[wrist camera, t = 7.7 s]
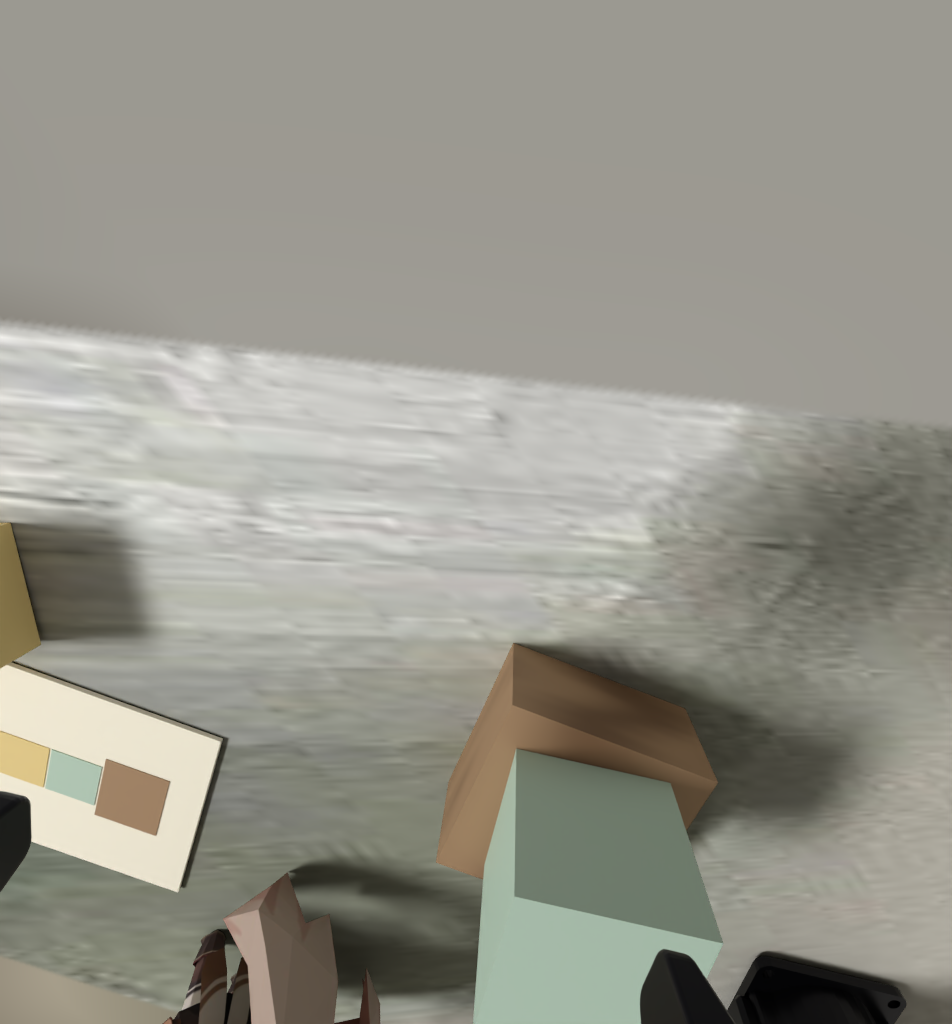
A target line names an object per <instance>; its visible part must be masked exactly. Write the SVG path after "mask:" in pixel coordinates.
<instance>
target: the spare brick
mask: <svg viewBox="0 0 952 1024" xmlns="http://www.w3.org/2000/svg"><path fill="white" fill-rule="evenodd" d="M39 645H41V642H40V638H39V634H38V630H37V626H36V622H35V618H34V614H33V610H32V606H31V603H30V599H29V595H28V591H27V587H26V583H25V579H24V575H23V571H22V567H21V563H20V559H19V555H18V551H17V547H16V543H15V539H14V535H13V531H12V527H11V523H0V668H2V667H4V666H6V665H7V664H9V663H11V662H12V661H14V660H16V659H17V658H19V657H21V656H22V655H24V654H26V653H28V652H29V651H31V650H33V649H34V648H36V647H38V646H39Z"/></svg>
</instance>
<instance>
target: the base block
mask: <svg viewBox="0 0 952 1024" xmlns="http://www.w3.org/2000/svg"><path fill="white" fill-rule="evenodd" d="M516 749H520V750H525V751H529V752H534V753H538V754H543V755H547V756H552V757H556V758H561V759H565V760H570V761H574V762H578V763H583V764H587V765H592V766H596V767H601V768H605V769H610V770H614V771H619V772H623V773H628V774H632V775H637V776H641V777H646V778H650V779H655V780H659V781H664V782H668V783H671V786H672V789H673V792H674V795H675V798H676V801H677V804H678V807H679V810H680V813H681V816H682V820H683V823H684V826H685V829H686V831H687V829H688V828H689V826H690V824H691V823H692V821H693V820H694V818H695V817H696V815H697V814H698V812H699V811H700V809H701V808H702V806H703V805H704V803H705V802H706V800H707V799H708V797H709V796H710V794H711V793H712V791H713V790H714V788H715V787H716V785H717V783H718V781H717V779H716V777H715V774H714V772H713V770H712V768H711V765H710V763H709V761H708V759H707V756H706V754H705V752H704V750H703V747H702V745H701V743H700V741H699V738H698V736H697V734H696V732H695V729H694V727H693V725H692V723H691V720H690V718H689V716H688V714H687V711H686V709H685V708H682V707H680V706H677V705H675V704H672V703H669V702H667V701H664V700H661V699H659V698H656V697H654V696H651V695H648V694H646V693H643V692H641V691H638V690H635V689H633V688H630V687H628V686H625V685H622V684H620V683H617V682H614V681H612V680H609V679H607V678H604V677H601V676H599V675H596V674H594V673H591V672H588V671H586V670H583V669H580V668H578V667H575V666H573V665H570V664H567V663H565V662H562V661H560V660H557V659H554V658H552V657H549V656H546V655H544V654H541V653H539V652H536V651H533V650H531V649H528V648H526V647H523V646H520V645H518V644H515V643H513V645H512V647H511V649H510V651H509V653H508V656H507V658H506V660H505V662H504V664H503V666H502V669H501V671H500V673H499V675H498V677H497V679H496V681H495V684H494V686H493V688H492V690H491V692H490V694H489V696H488V699H487V701H486V703H485V705H484V707H483V709H482V711H481V714H480V716H479V718H478V720H477V722H476V724H475V726H474V729H473V731H472V733H471V735H470V737H469V739H468V741H467V744H466V746H465V748H464V750H463V752H462V754H461V756H460V759H459V761H458V763H457V765H456V767H455V769H454V771H453V774H452V776H451V778H450V780H449V783H448V789H447V796H446V802H445V808H444V815H443V821H442V827H441V834H440V840H439V846H438V853H437V859H436V863H439V864H442V865H444V866H447V867H450V868H453V869H455V870H458V871H461V872H464V873H466V874H469V875H472V876H475V877H478V878H480V879H483V877H484V864H485V861H486V857H487V853H488V850H489V846H490V842H491V839H492V835H493V832H494V828H495V824H496V821H497V817H498V813H499V810H500V806H501V802H502V799H503V795H504V792H505V788H506V784H507V781H508V777H509V773H510V770H511V766H512V763H513V759H514V755H515V752H516Z"/></svg>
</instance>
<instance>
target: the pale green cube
mask: <svg viewBox="0 0 952 1024" xmlns="http://www.w3.org/2000/svg"><path fill="white" fill-rule="evenodd" d="M722 945H723V941H722V938H721V935H720V932H719V929H718V926H717V923H716V920H715V917H714V914H713V911H712V908H711V905H710V902H709V899H708V896H707V893H706V890H705V886H704V883H703V880H702V877H701V874H700V871H699V868H698V865H697V862H696V859H695V856H694V853H693V850H692V847H691V844H690V841H689V838H688V835H687V832H686V829H685V826H684V823H683V820H682V816H681V813H680V810H679V807H678V804H677V801H676V798H675V795H674V792H673V789H672V786H671V783H668V782H664V781H659V780H655V779H650V778H646V777H641V776H637V775H632V774H628V773H623V772H619V771H614V770H610V769H605V768H601V767H596V766H592V765H587V764H583V763H578V762H574V761H570V760H565V759H561V758H556V757H552V756H547V755H543V754H538V753H534V752H529V751H525V750H520V749H516V752H515V755H514V759H513V763H512V766H511V770H510V773H509V777H508V781H507V784H506V788H505V792H504V795H503V799H502V802H501V806H500V810H499V813H498V817H497V821H496V824H495V828H494V832H493V835H492V839H491V842H490V846H489V850H488V853H487V857H486V861H485V864H484V877H483V891H482V905H481V919H480V933H479V947H478V961H477V976H476V990H475V1004H474V1018H473V1024H641V1018H640V994H641V989H642V986H643V983H644V981H645V979H646V977H647V975H648V972H649V970H650V968H651V966H652V964H653V961H654V959H655V957H656V955H657V953H658V952H659V951H660V950H662V949H667V950H672V951H676V952H680V953H684V954H687V955H689V956H690V957H691V958H692V959H693V960H694V961H695V962H696V964H697V965H698V967H699V968H700V970H701V971H702V973H703V975H704V976H705V978H706V979H707V977H708V974H709V972H710V970H711V968H712V966H713V964H714V962H715V960H716V958H717V956H718V954H719V952H720V949H721V947H722Z"/></svg>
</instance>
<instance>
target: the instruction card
mask: <svg viewBox="0 0 952 1024" xmlns="http://www.w3.org/2000/svg"><path fill="white" fill-rule="evenodd" d="M222 741H223V738H220V737H217V736H215V735H212V734H209V733H206V732H203V731H201V730H198V729H195V728H192V727H190V726H187V725H184V724H181V723H178V722H176V721H173V720H170V719H167V718H165V717H162V716H159V715H156V714H153V713H151V712H148V711H145V710H142V709H140V708H137V707H134V706H131V705H128V704H126V703H123V702H120V701H117V700H115V699H112V698H109V697H106V696H103V695H101V694H98V693H95V692H92V691H90V690H87V689H84V688H81V687H78V686H76V685H73V684H70V683H67V682H65V681H62V680H59V679H56V678H53V677H51V676H48V675H45V674H42V673H40V672H37V671H34V670H31V669H28V668H26V667H23V666H20V665H17V664H15V663H12V662H11V663H9V664H7V665H6V666H4V667H2V668H0V791H6V792H10V793H14V794H18V795H22V796H26V797H27V798H28V799H29V800H30V803H31V834H32V838H31V841H32V842H34V843H37V844H40V845H43V846H46V847H49V848H52V849H55V850H57V851H60V852H63V853H66V854H69V855H72V856H75V857H78V858H80V859H83V860H86V861H89V862H92V863H95V864H98V865H101V866H103V867H106V868H109V869H112V870H115V871H118V872H121V873H124V874H126V875H129V876H132V877H135V878H138V879H141V880H144V881H147V882H149V883H152V884H155V885H158V886H161V887H164V888H167V889H170V890H172V891H175V892H178V891H179V890H180V888H181V885H182V881H183V878H184V874H185V871H186V867H187V864H188V860H189V857H190V853H191V850H192V846H193V843H194V839H195V836H196V832H197V829H198V825H199V822H200V818H201V815H202V811H203V808H204V804H205V801H206V797H207V794H208V790H209V787H210V783H211V780H212V776H213V773H214V769H215V766H216V762H217V759H218V755H219V752H220V748H221V745H222Z"/></svg>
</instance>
